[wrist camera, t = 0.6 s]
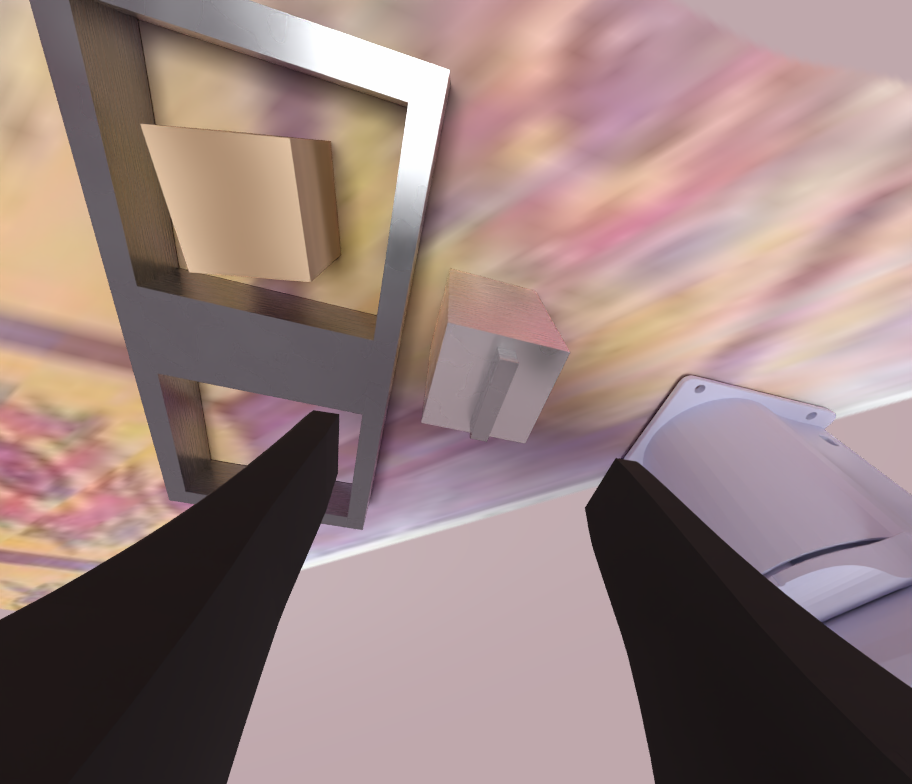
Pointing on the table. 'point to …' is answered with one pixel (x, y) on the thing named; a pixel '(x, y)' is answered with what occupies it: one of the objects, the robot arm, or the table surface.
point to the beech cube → (248, 201)
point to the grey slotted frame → (215, 299)
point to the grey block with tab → (491, 359)
